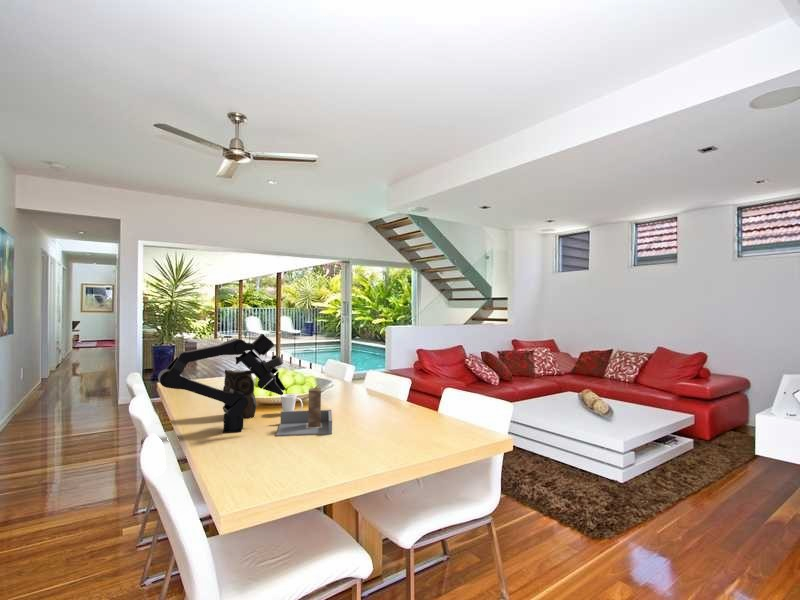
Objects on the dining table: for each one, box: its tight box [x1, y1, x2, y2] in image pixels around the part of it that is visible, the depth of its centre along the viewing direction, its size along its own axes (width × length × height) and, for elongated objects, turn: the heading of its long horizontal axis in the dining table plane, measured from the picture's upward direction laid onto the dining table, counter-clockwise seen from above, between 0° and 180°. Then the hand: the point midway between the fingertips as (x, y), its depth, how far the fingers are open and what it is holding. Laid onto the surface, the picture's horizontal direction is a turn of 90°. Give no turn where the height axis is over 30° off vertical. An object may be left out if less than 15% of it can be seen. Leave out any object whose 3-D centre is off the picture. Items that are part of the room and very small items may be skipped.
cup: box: [280, 393, 304, 411], centre depth 185 cm, size 7×10×8 cm
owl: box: [222, 369, 257, 419], centre depth 180 cm, size 13×13×20 cm
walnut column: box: [308, 387, 322, 427], centre depth 166 cm, size 5×5×14 cm
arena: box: [275, 409, 333, 437], centre depth 163 cm, size 20×17×5 cm
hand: (283, 391), depth 166 cm, fingers open, 9 cm apart
